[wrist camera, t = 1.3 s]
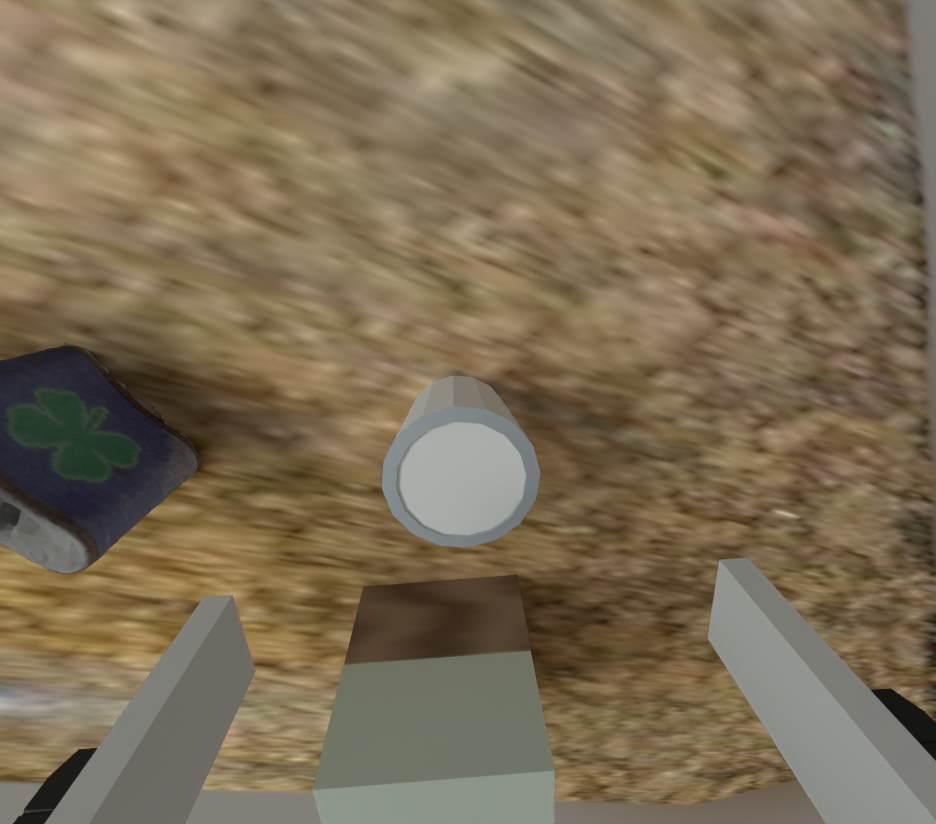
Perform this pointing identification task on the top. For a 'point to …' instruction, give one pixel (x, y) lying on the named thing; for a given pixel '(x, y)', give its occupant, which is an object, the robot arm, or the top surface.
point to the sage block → (437, 744)
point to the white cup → (460, 466)
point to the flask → (79, 458)
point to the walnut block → (439, 620)
